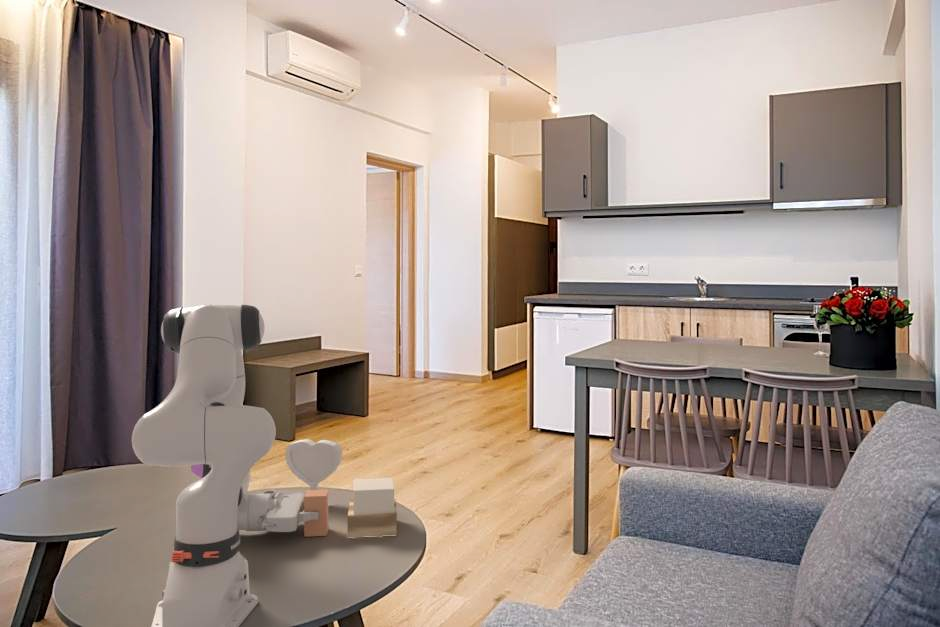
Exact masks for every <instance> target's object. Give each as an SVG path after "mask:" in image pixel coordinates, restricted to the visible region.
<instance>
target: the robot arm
mask: <svg viewBox="0 0 940 627" xmlns="http://www.w3.org/2000/svg"><path fill="white" fill-rule="evenodd" d="M160 335H161V339H162V341H163V344H164V346H165V347H166V349H167V350H169V351H170V352H172V353H173V354H179V357H178V368H177V373H176V380H175V383H174V386H173V387H172V389H171V391H170V392H169V394H168V395H167V396H166V397H165V398H164V399H163V401H161V402H160V403H159V404H158V405H156V406H155V407H154V408H152V409H151V410H149V411H148V412H145V413H144V414H143V415H142V416H141V417H140V418H139V419H138V421H137V422H136V423H135V424H134V428H133V430H132V434H131V446H132V449H133V452H134V454H135V456H136V457H137V458H138V460H140V461H141V463H143V464H144V465H150V466H159V467H168V468H170V467H183V466H184V467H186V466H191V465H200V464H203V475H202V479H198V480H196V481H194V482H192V483H191V484H189V485H188V486H186V487H185V488H183V489H182V490H181V492H179V495H178V496H177V499H176V503H175V517H176V518H175V522H176V523H175V524H176V525H175V526H176V527H175V528H176V529H175V530H176V532H175V533H176V535H175V536H174V540H173V545H172V552H171V556H170V559H171V561H170V562H169V564H168V573H167V579H166V583H165V584H166V585H165V589H164V590H163V591H162V598H163V600H160V601H158V602H157V604H156V608H155V611H154V614H153V615H154V616H153V618H152V622H151V626H150V627H240V625H241V624H242V623H243V622H244V621H245V619H246V618H247V617H248V616H249V615H250V614H251V612H252V611H253V609H254V608H255V607H257V604H258V603H259V597H258V596H257V595H256V594H253V593H251V592H250V578H249V576H250V575H249V574H250V573H249V562H248V561H249V560H247V559H246V557H244V556H243V554H241V552H240V550H241V535H240V531H245V532H265V531H267V532H273V533H292V532H295V531H297V528H298V527H299V524H300V523H304V522H305V521H309V520H317V519H318V518H319V511H311V512H305V513H304V496H305V493H304V492H301V491H278V492H277V491H276V490H275V489H270V490H267V491H264V492H263V493H258V494H257V493H256V494H250V493H249V492H248V489H249V484H250V481H251V469H252V468H253V467H254V465H255V464H256V463H257V462H259V461H260V460H262V459H263V458H264V457H265V456H266V455H268V453H269V452H270V450H271V449H272V447H273V445H274V442H275V440H276V435H277V434H276V433H277V428H276V424H275V421H274V419H273V417H272V415H271V414H270V413H269V411H268V410H266V408H264V407H260V406H259V407H257V406H252V405H246V404H244V401H245V394H246V372H245V371H246V370H245V369H246V368H245V362H244V357H243V352H242V351H244V353H246V354H247V353H249V352H250V350H254V349H256V348H257V347H258V346H259V345H260V344H261V343H262V339H263V337H264V335H265V321H264V318H263V317H262V315H261V313H260V310H259V309H258V307H256V306H254V305H248V304H241V305H234V304H233V305H231V304H218V305H217V304H215V305H213V304H204V305H197V306H189V307H185V308H184V307H177V308H173V309H170V310H168V312H166V313H165V314H164V316H163V321H162V323H161V326H160Z"/></svg>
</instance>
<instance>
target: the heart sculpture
mask: <svg viewBox="0 0 940 627" xmlns="http://www.w3.org/2000/svg"><path fill="white" fill-rule="evenodd" d="M342 450H343V449H342V446H341V445H340V444H339V443H338V442H335V441H332V440H328V439H321V440H319V441H318V442H315V441H314V440H312V439H310V438H307V439H304V438H303V439H299V440H296V441H294V442H292V443H290V444H289V445H288V446H287V447H286V448H285V454H284V455H285V459H286V464H287V466H288V468H289V470H290V471H291V473H292V474H293V475H295V477H297V478H298V479H299V480H301V481H303V482H304V483H305V484H307V485H308V486H309V490H319V484H320V483H321V482H323V481H325V480H326V479H327V478H328V477H330V476H331V475H332V474H333V473H335V472H336V471H337V469H338V467H339V466H340V464H341V462H342V458H343V451H342Z"/></svg>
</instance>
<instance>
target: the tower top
mask: <svg viewBox="0 0 940 627" xmlns="http://www.w3.org/2000/svg"><path fill="white" fill-rule="evenodd" d="M352 482H353V483H352V484H353V485H352V488H353V491H352V492H353V494H352V497H353V508H354V515H356V514H375V513H394V499H395V488H394V481H393V478H392V477H378V478H377V477H376V478H375V477H374V478H357V479H356V478H354V479H353V480H352Z"/></svg>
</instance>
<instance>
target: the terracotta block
mask: <svg viewBox="0 0 940 627" xmlns="http://www.w3.org/2000/svg"><path fill="white" fill-rule="evenodd" d="M304 494H305V496H304V510H303V512H304V513H305V512H311V511H319V518H318V519H317V520H309V521H305V522H303V523H304V524H303V533H304V537H307V538H308V537H326V536H327V535H328V531H329V507H328V501H329V489H318V490H310V489H306V490H305V493H304Z"/></svg>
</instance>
